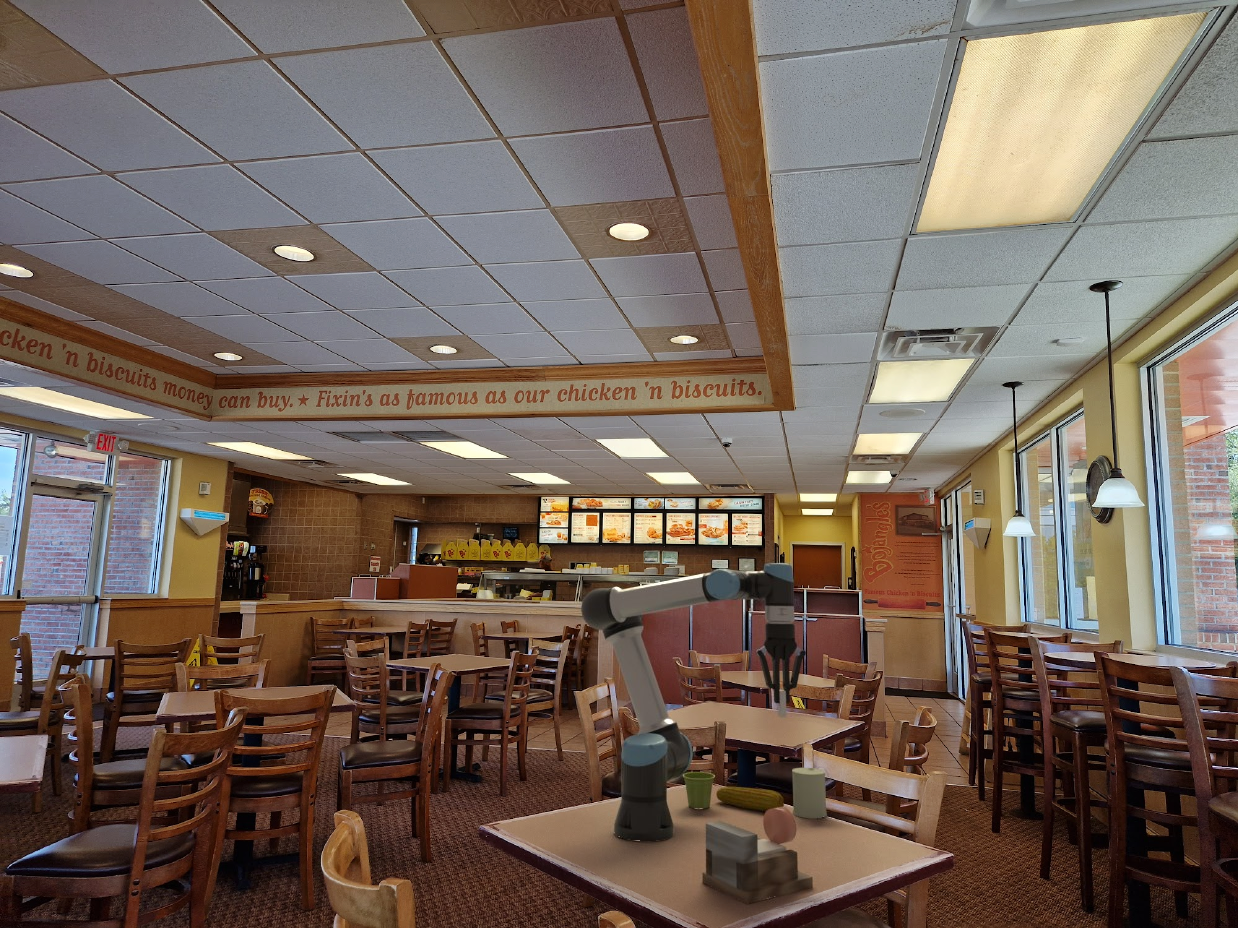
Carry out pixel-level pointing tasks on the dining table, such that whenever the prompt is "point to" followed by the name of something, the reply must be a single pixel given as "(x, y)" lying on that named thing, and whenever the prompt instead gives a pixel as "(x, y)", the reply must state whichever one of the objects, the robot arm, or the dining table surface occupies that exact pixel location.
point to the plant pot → (699, 788)
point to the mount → (749, 866)
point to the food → (750, 798)
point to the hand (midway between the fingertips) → (782, 716)
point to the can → (809, 793)
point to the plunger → (777, 830)
